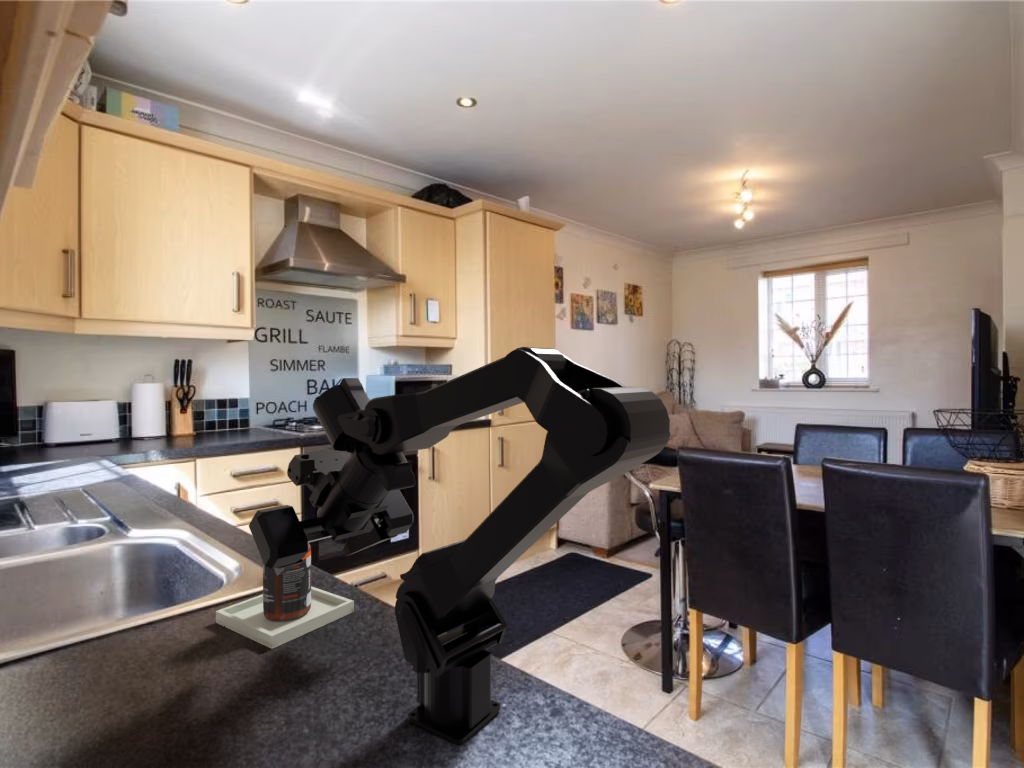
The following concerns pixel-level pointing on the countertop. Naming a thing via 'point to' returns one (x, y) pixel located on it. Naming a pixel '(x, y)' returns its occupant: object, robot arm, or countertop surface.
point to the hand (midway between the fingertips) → (312, 561)
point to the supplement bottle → (287, 591)
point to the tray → (275, 633)
